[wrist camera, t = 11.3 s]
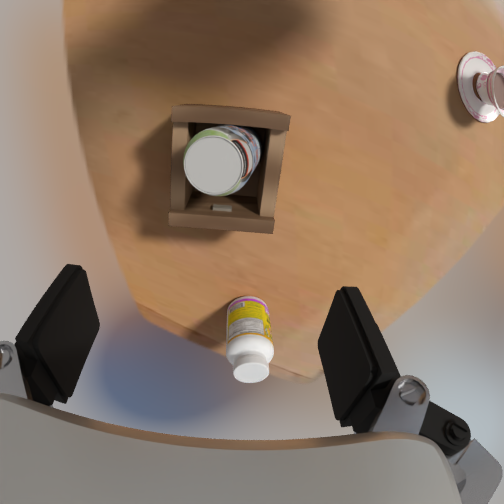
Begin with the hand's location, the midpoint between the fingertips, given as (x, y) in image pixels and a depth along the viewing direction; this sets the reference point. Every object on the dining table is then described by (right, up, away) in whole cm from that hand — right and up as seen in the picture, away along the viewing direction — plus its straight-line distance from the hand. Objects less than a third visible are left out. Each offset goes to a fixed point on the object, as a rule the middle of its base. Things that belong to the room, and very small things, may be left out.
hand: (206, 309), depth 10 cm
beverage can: (-1, +15, +22) cm, 27 cm away
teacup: (+37, +28, +18) cm, 50 cm away
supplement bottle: (+1, -7, +37) cm, 37 cm away
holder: (-1, +14, +24) cm, 28 cm away
